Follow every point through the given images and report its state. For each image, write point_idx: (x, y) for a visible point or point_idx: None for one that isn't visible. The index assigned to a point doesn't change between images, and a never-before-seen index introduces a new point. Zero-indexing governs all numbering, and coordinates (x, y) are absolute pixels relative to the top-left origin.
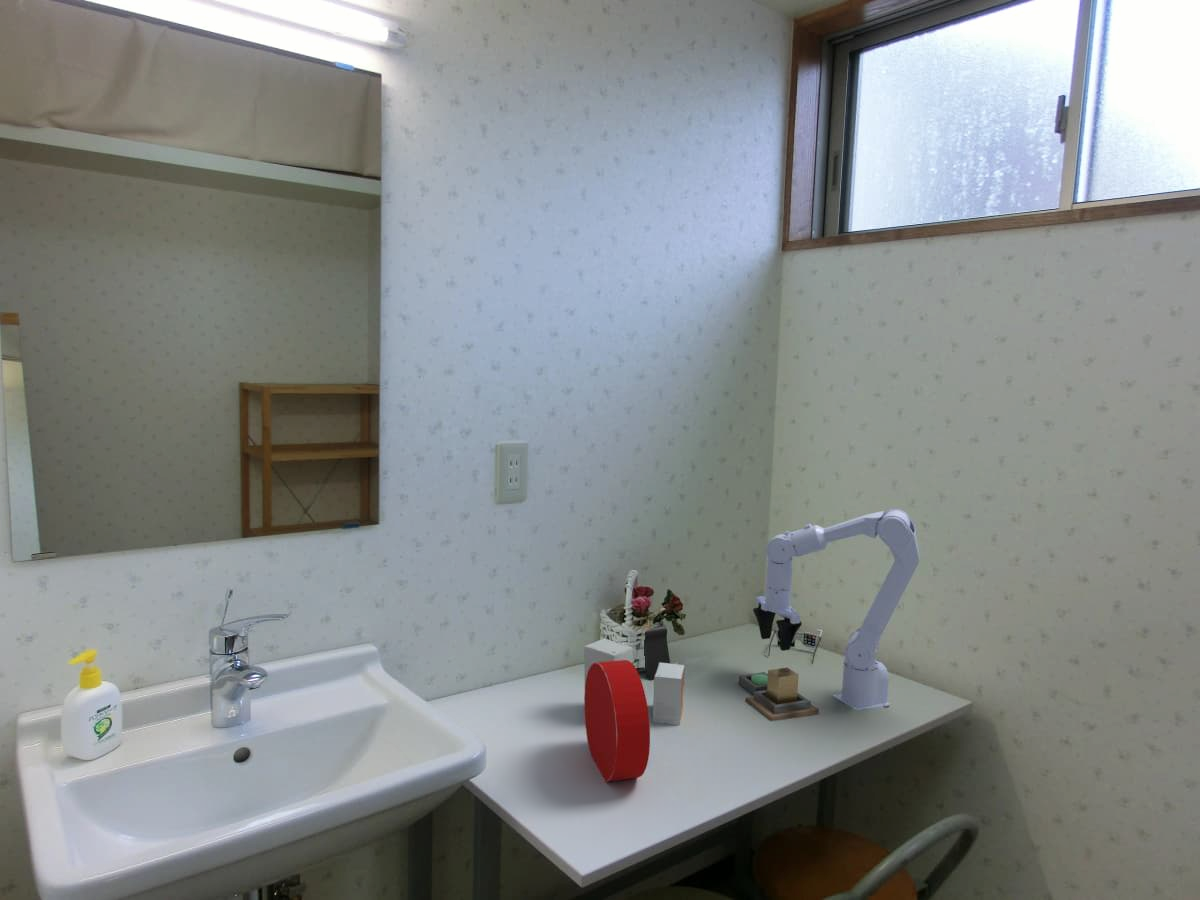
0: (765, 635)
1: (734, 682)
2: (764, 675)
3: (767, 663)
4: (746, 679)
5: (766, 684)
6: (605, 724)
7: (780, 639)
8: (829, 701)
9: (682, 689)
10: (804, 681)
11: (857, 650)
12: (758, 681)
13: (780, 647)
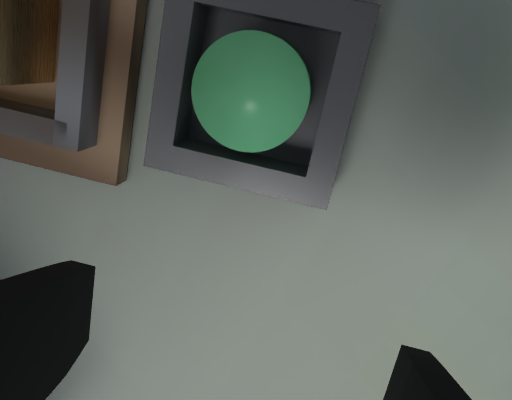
0: (399, 397)
1: (416, 16)
2: (257, 141)
3: (492, 394)
4: (300, 6)
5: (175, 69)
6: None
7: (2, 297)
8: (4, 275)
9: None
10: (216, 359)
11: None
12: (217, 41)
13: (76, 269)
